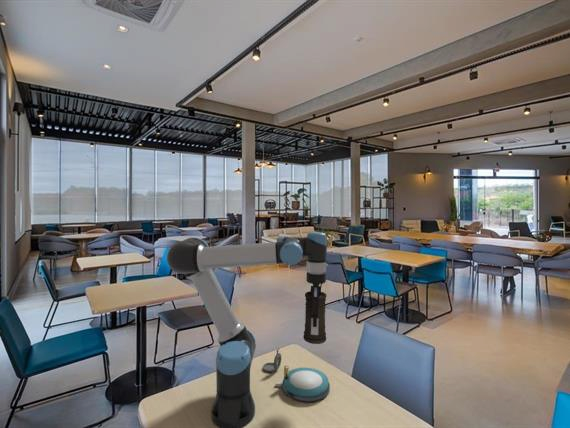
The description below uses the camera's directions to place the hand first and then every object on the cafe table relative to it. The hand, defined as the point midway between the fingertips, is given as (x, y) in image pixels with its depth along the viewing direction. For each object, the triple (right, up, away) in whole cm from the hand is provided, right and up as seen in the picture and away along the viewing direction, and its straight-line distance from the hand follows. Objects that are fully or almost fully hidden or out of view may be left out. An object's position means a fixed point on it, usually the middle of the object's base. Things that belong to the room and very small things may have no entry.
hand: (314, 329), depth 121 cm
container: (0, -4, 0) cm, 4 cm away
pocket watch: (-17, -24, +17) cm, 34 cm away
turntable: (-3, -23, +3) cm, 23 cm away
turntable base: (-5, -25, +4) cm, 25 cm away
